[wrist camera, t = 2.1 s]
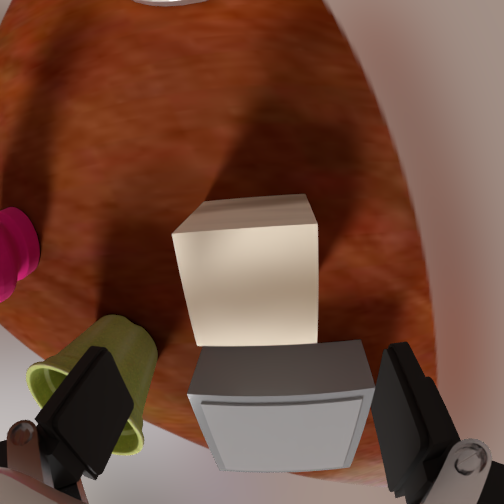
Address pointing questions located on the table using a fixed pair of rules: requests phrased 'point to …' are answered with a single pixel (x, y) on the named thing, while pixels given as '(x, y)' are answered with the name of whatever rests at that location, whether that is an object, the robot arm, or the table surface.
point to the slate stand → (282, 405)
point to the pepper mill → (16, 249)
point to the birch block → (250, 271)
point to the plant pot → (126, 358)
